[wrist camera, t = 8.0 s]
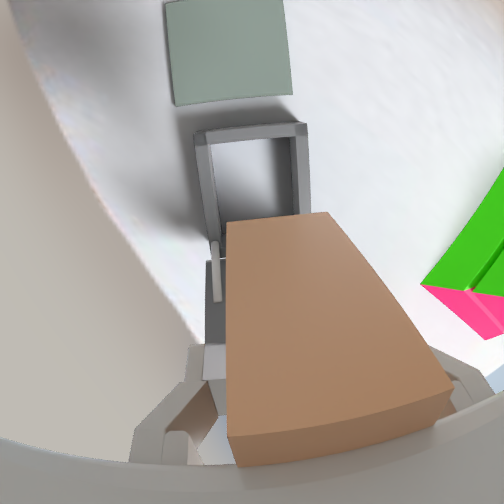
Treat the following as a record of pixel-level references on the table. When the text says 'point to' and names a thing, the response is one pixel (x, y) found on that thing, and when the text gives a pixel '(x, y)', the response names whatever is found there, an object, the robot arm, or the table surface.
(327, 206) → the table surface
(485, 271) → the pyramid toy
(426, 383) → the block
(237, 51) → the rubber mat
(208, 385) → the robot arm
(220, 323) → the equipment case
